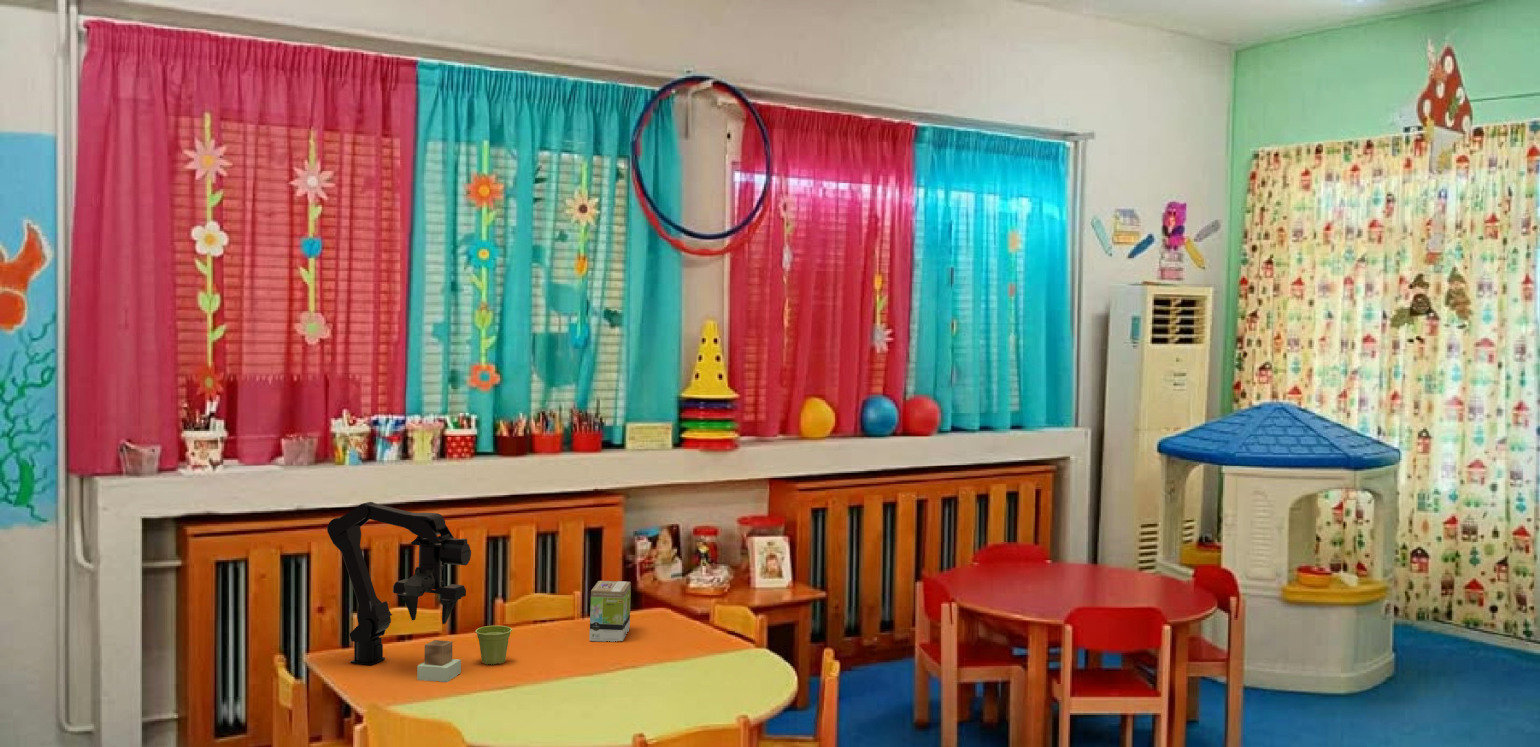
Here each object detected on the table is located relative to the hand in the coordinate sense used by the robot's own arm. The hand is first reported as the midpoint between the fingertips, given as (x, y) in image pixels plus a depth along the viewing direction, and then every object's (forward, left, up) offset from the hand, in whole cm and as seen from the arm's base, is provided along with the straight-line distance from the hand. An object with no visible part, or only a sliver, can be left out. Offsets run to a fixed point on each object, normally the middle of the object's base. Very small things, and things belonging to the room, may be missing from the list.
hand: (428, 622), depth 333 cm
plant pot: (+14, +10, -12) cm, 21 cm away
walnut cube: (+7, -7, -8) cm, 13 cm away
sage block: (+8, -7, -12) cm, 16 cm away
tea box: (+31, +47, -12) cm, 57 cm away
